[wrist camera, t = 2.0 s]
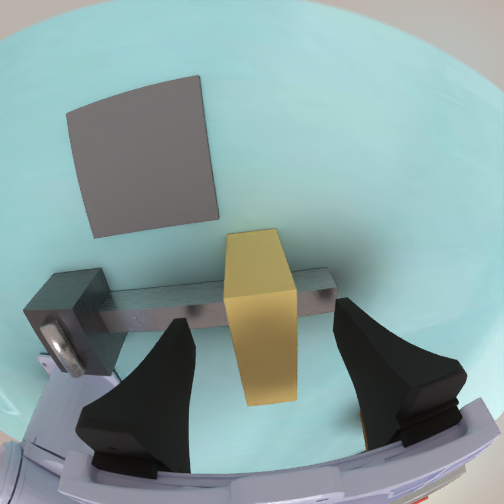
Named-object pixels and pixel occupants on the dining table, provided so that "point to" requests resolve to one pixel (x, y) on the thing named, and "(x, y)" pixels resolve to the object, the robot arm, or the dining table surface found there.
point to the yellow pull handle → (262, 316)
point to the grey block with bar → (137, 313)
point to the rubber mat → (144, 159)
